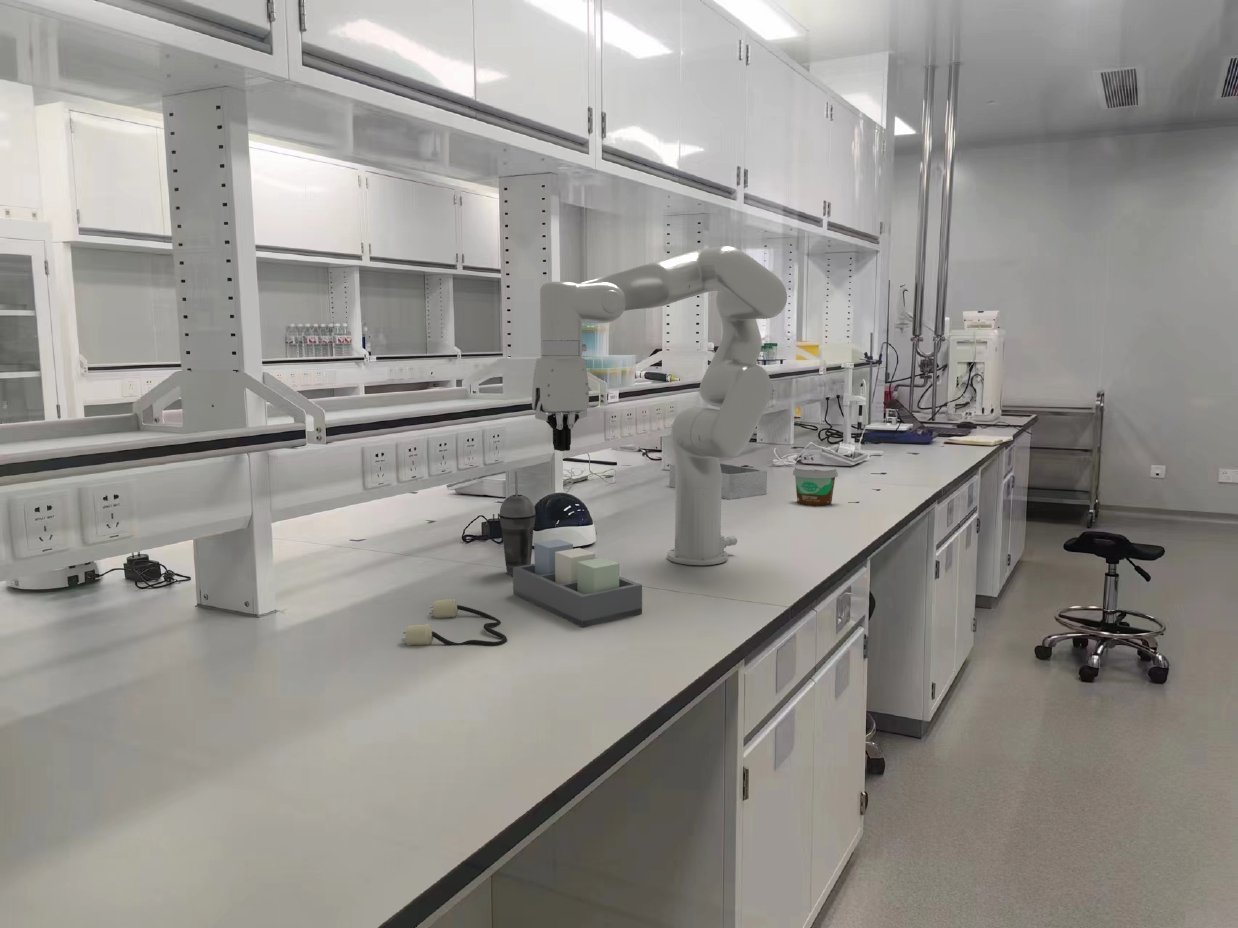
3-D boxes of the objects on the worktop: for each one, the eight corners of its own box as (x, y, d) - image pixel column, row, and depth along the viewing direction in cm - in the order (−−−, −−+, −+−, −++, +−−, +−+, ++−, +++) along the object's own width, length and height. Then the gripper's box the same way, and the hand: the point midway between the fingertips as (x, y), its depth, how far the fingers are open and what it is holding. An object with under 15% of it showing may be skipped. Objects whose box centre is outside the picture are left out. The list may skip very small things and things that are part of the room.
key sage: (601, 591, 150) (601, 557, 149) (619, 598, 146) (619, 563, 145) (577, 596, 147) (577, 561, 147) (594, 603, 143) (594, 568, 143)
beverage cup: (502, 579, 168) (500, 475, 166) (497, 569, 175) (495, 470, 173) (540, 576, 170) (538, 474, 168) (533, 567, 177) (532, 468, 174)
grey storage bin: (705, 482, 282) (706, 460, 281) (766, 494, 261) (767, 470, 260) (669, 486, 274) (669, 464, 273) (729, 499, 252) (729, 475, 251)
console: (569, 583, 165) (569, 557, 165) (642, 613, 147) (642, 584, 147) (513, 594, 158) (512, 567, 158) (582, 627, 140) (582, 597, 140)
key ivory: (579, 580, 156) (579, 547, 155) (595, 587, 152) (595, 553, 151) (555, 585, 153) (555, 551, 152) (570, 592, 149) (570, 557, 148)
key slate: (558, 570, 161) (558, 538, 161) (573, 576, 157) (573, 544, 157) (534, 575, 159) (534, 542, 158) (549, 581, 155) (549, 548, 154)
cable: (522, 618, 147) (522, 598, 146) (502, 652, 131) (502, 630, 130) (431, 615, 148) (430, 595, 148) (399, 649, 132) (399, 627, 132)
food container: (789, 505, 243) (790, 469, 242) (791, 501, 249) (793, 466, 248) (835, 508, 240) (836, 471, 238) (836, 504, 245) (838, 468, 244)
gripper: (583, 350, 168) (584, 445, 171) (515, 350, 160) (516, 451, 162) (606, 350, 162) (606, 449, 165) (536, 351, 154) (537, 455, 156)
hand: (561, 449), depth 164 cm, fingers closed
